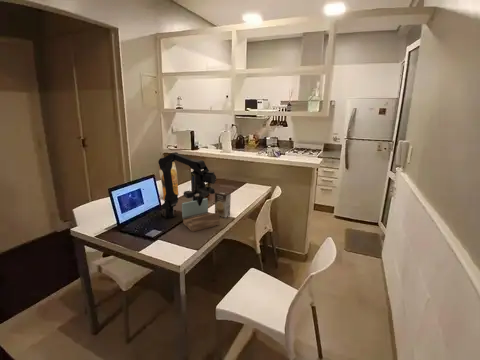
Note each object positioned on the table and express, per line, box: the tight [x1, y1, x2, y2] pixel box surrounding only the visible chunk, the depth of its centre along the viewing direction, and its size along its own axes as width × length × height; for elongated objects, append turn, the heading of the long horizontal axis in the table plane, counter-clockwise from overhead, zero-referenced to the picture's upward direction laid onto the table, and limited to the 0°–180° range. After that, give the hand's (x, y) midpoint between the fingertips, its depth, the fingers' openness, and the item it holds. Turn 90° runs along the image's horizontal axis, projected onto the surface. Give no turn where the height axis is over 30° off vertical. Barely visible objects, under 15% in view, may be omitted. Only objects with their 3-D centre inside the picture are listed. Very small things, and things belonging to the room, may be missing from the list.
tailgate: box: [181, 198, 209, 220], centre depth 174 cm, size 2×18×10 cm, turn 125°
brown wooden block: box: [182, 212, 220, 232], centre depth 168 cm, size 14×18×8 cm
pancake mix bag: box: [158, 161, 179, 201], centre depth 213 cm, size 7×19×28 cm, turn 147°
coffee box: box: [214, 190, 232, 219], centre depth 182 cm, size 9×6×16 cm
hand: (199, 205), depth 167 cm, fingers closed
